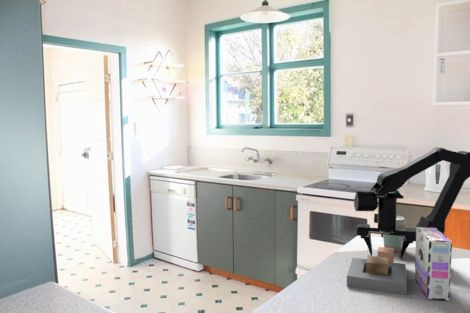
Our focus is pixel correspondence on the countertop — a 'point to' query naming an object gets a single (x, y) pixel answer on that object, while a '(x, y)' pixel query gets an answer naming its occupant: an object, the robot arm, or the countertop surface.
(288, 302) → the countertop surface
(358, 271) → the grey slotted square board
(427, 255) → the candy box
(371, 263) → the walnut block
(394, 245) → the coffee cup
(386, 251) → the peach cube
